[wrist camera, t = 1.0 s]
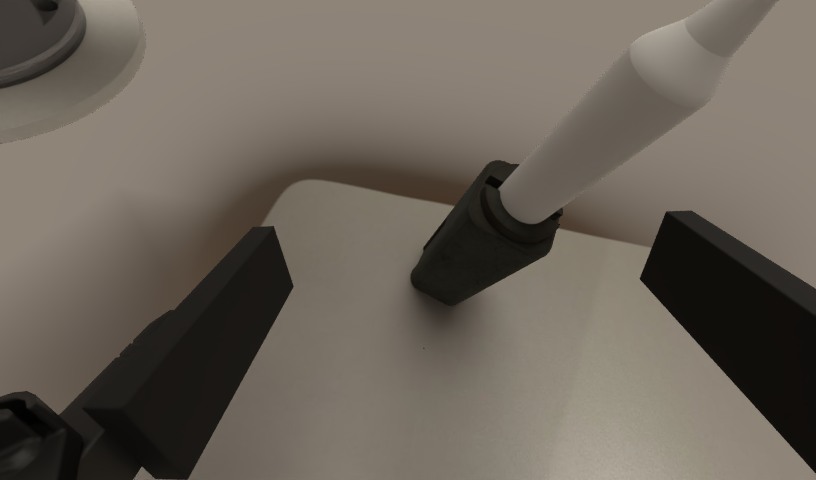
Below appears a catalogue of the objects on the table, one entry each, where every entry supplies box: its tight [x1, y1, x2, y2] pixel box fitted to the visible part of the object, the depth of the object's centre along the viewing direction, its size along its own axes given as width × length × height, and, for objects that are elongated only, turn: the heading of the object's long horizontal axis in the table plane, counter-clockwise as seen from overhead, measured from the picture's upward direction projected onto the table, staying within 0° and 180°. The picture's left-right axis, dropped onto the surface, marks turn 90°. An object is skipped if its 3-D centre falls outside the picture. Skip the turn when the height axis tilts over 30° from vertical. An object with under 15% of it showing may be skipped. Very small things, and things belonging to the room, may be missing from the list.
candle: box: [411, 0, 778, 306], centre depth 18 cm, size 5×5×25 cm
